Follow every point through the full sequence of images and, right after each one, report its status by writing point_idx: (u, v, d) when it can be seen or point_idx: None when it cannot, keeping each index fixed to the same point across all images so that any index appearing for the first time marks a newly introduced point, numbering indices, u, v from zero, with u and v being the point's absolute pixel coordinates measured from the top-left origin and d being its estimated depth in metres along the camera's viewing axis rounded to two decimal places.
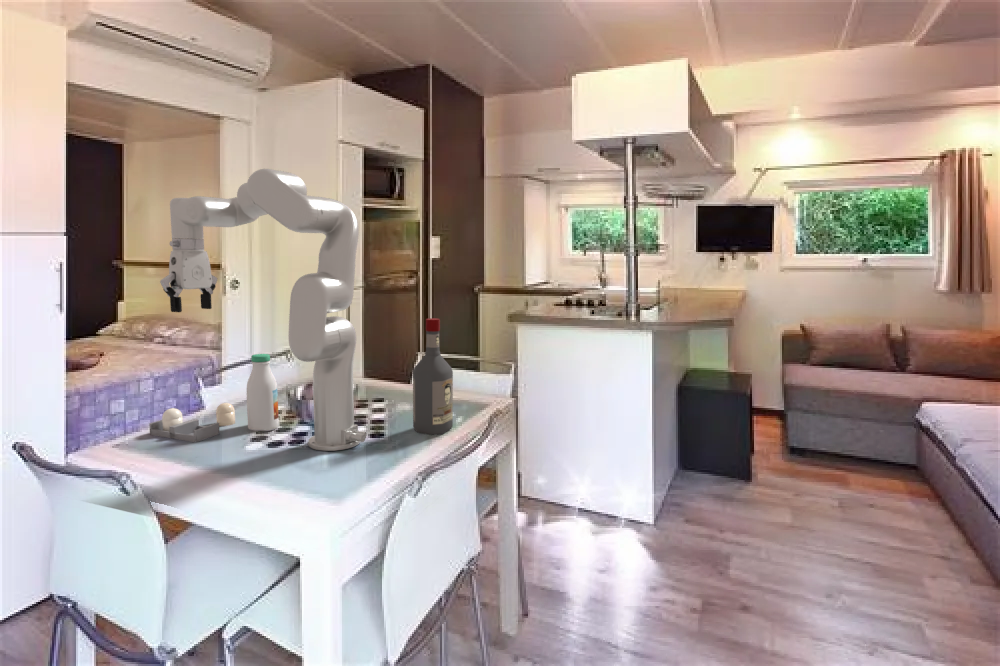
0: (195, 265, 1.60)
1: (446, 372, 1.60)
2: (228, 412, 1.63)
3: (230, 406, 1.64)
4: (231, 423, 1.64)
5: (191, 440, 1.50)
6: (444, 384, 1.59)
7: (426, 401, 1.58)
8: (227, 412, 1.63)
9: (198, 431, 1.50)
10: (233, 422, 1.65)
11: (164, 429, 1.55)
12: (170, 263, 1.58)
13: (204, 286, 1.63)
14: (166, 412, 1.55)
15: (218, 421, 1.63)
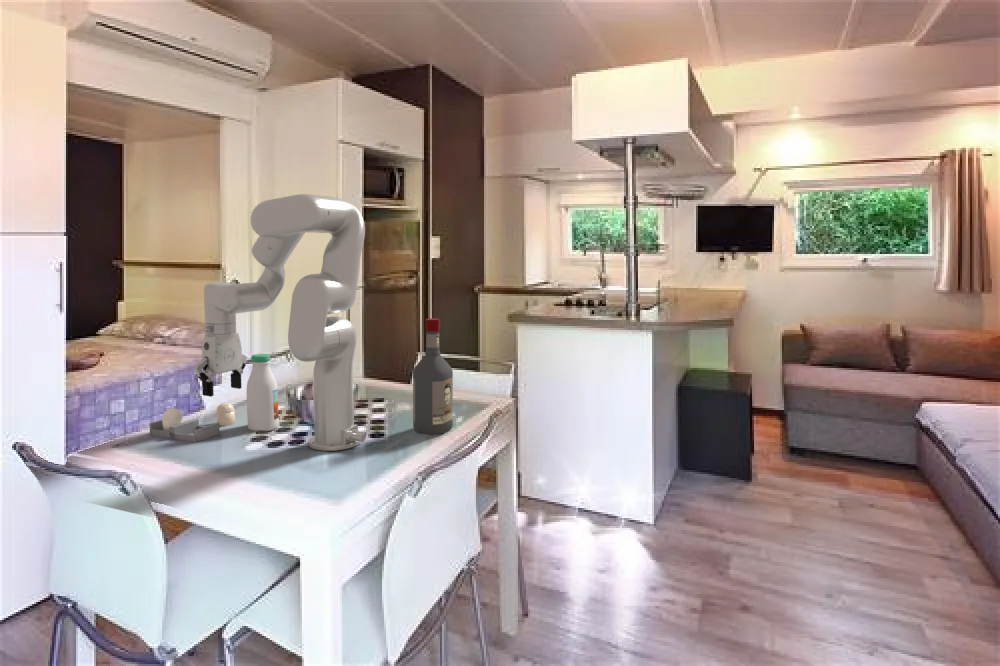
0: (227, 349, 1.61)
1: (446, 372, 1.59)
2: (228, 412, 1.63)
3: (230, 406, 1.64)
4: (231, 423, 1.64)
5: (191, 440, 1.50)
6: (444, 384, 1.59)
7: (426, 401, 1.58)
8: (227, 412, 1.63)
9: (198, 431, 1.50)
10: (233, 422, 1.65)
11: (164, 429, 1.55)
12: (203, 348, 1.59)
13: (235, 368, 1.64)
14: (166, 412, 1.55)
15: (218, 421, 1.63)
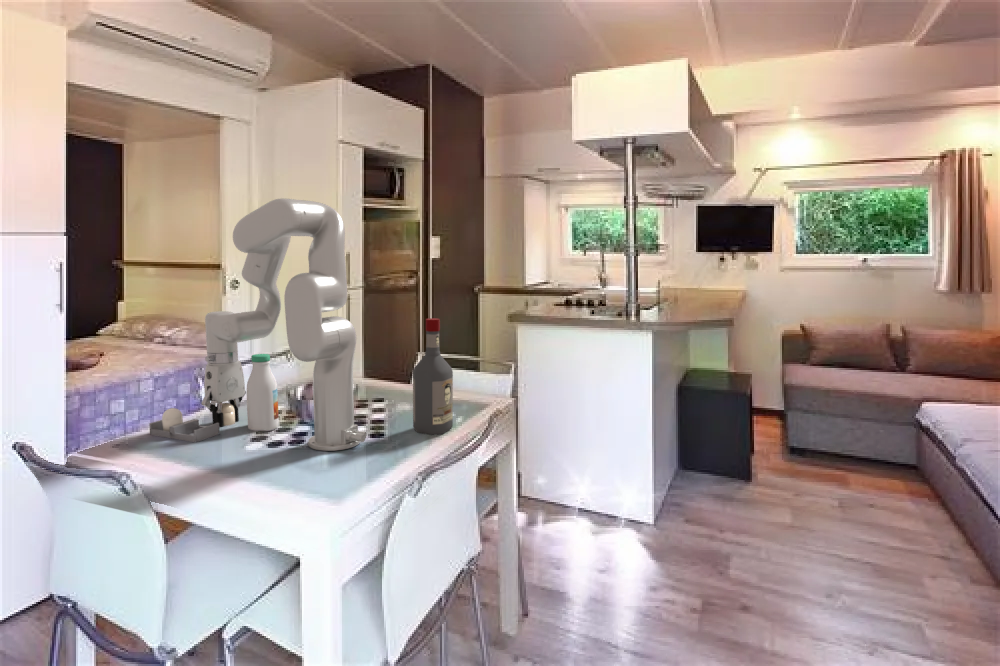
0: (230, 377, 1.62)
1: (446, 372, 1.59)
2: (228, 412, 1.63)
3: (230, 406, 1.64)
4: (231, 423, 1.64)
5: (191, 440, 1.50)
6: (444, 384, 1.59)
7: (426, 401, 1.58)
8: (227, 412, 1.63)
9: (198, 431, 1.50)
10: (233, 422, 1.65)
11: (164, 429, 1.55)
12: (205, 377, 1.59)
13: (238, 396, 1.65)
14: (166, 412, 1.55)
15: None
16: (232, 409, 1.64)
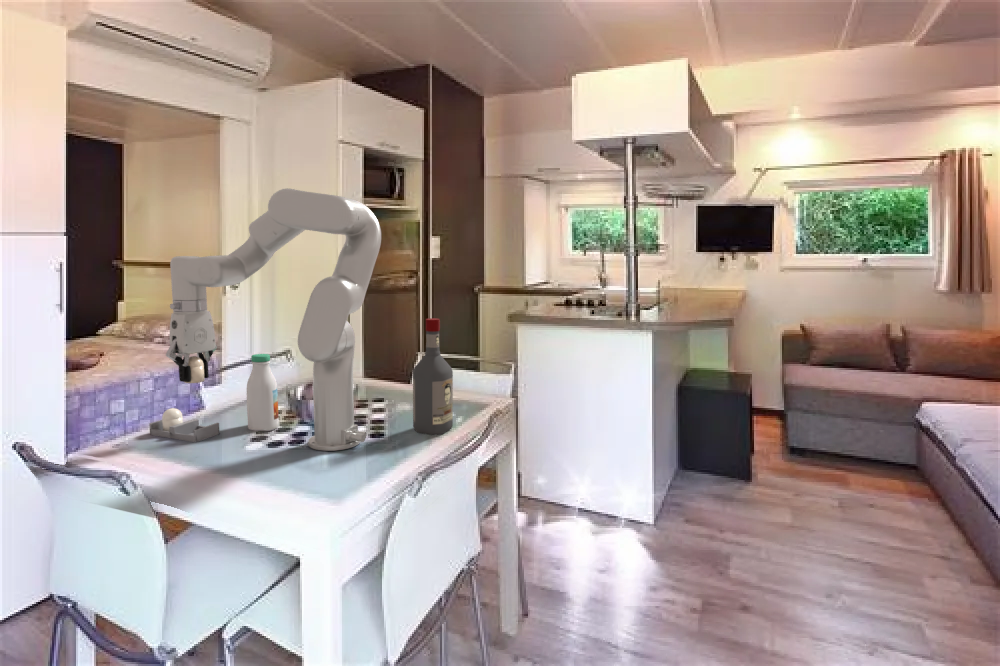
0: (197, 328, 1.49)
1: (446, 372, 1.59)
2: (196, 366, 1.50)
3: (198, 360, 1.51)
4: (199, 378, 1.51)
5: (191, 440, 1.50)
6: (444, 384, 1.59)
7: (426, 401, 1.58)
8: (195, 366, 1.50)
9: (198, 431, 1.50)
10: (202, 377, 1.52)
11: (164, 429, 1.55)
12: (171, 327, 1.46)
13: (207, 349, 1.52)
14: (166, 412, 1.55)
15: None
16: (200, 363, 1.51)
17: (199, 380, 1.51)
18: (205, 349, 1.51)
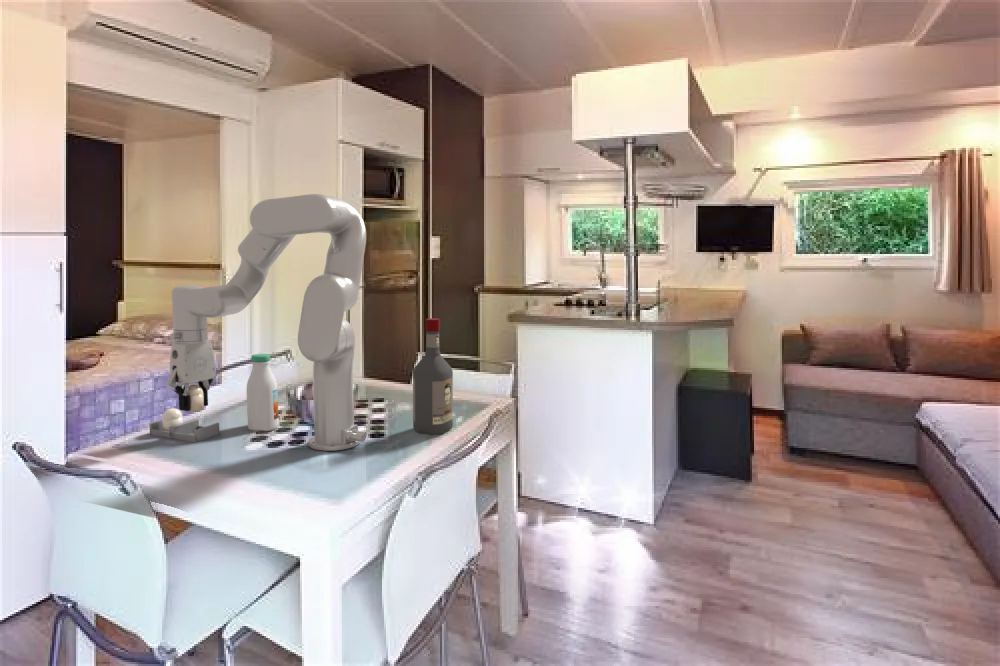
0: (198, 357, 1.50)
1: (446, 372, 1.60)
2: (196, 395, 1.51)
3: (198, 388, 1.52)
4: (199, 407, 1.52)
5: (191, 440, 1.50)
6: (444, 384, 1.59)
7: (426, 401, 1.58)
8: (195, 395, 1.51)
9: (198, 431, 1.50)
10: (201, 406, 1.52)
11: (164, 429, 1.55)
12: (171, 356, 1.47)
13: (207, 378, 1.53)
14: (166, 412, 1.55)
15: None
16: (200, 392, 1.52)
17: (199, 409, 1.52)
18: (205, 378, 1.52)
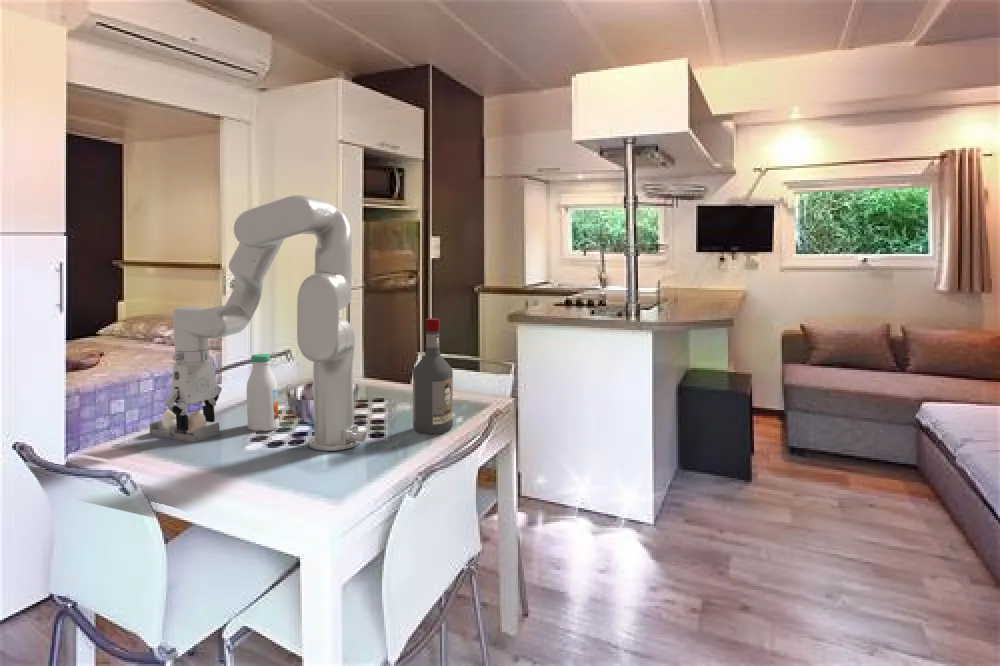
0: (200, 378, 1.50)
1: (446, 372, 1.60)
2: (198, 422, 1.52)
3: (201, 415, 1.53)
4: None
5: (191, 440, 1.50)
6: (444, 384, 1.59)
7: (426, 401, 1.58)
8: (197, 422, 1.52)
9: (198, 431, 1.50)
10: None
11: (164, 429, 1.55)
12: (173, 377, 1.48)
13: (209, 398, 1.53)
14: (166, 412, 1.55)
15: (187, 431, 1.52)
16: (203, 418, 1.53)
17: None
18: (207, 398, 1.53)
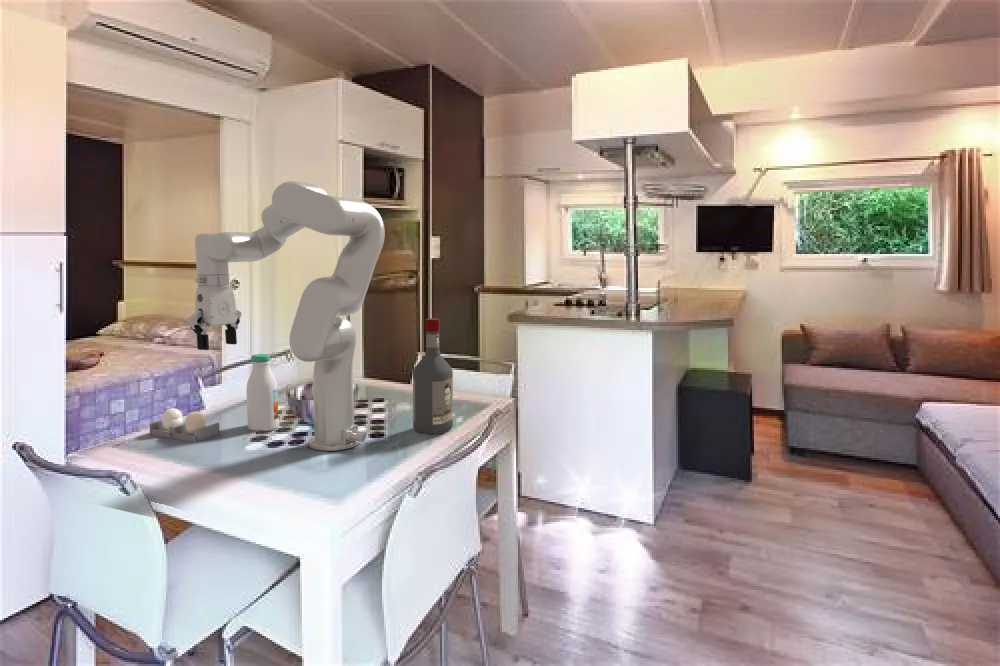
0: (221, 301, 1.57)
1: (446, 372, 1.59)
2: (198, 421, 1.52)
3: (200, 415, 1.53)
4: None
5: (191, 440, 1.50)
6: (444, 384, 1.59)
7: (426, 401, 1.58)
8: (197, 422, 1.51)
9: (198, 431, 1.50)
10: None
11: (164, 429, 1.55)
12: (196, 300, 1.55)
13: (230, 322, 1.61)
14: (166, 412, 1.55)
15: (187, 431, 1.52)
16: (202, 418, 1.53)
17: None
18: (228, 322, 1.60)
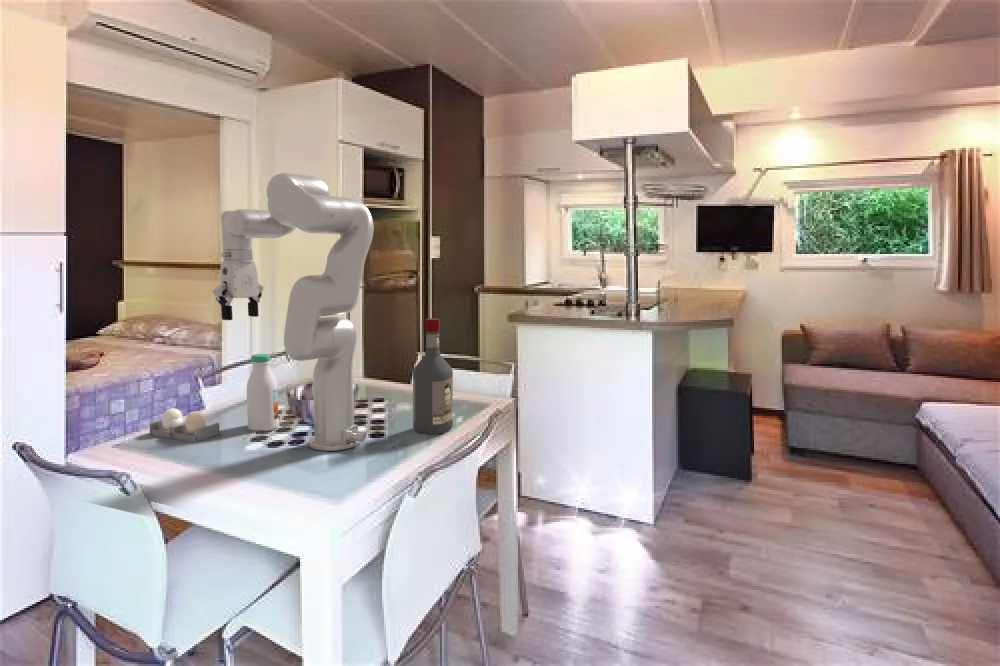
0: (245, 275, 1.67)
1: (446, 372, 1.59)
2: (199, 421, 1.52)
3: (201, 414, 1.53)
4: None
5: (191, 440, 1.50)
6: (444, 384, 1.59)
7: (426, 401, 1.58)
8: (198, 421, 1.52)
9: (198, 431, 1.50)
10: None
11: (164, 429, 1.55)
12: (221, 273, 1.65)
13: (252, 295, 1.70)
14: (166, 412, 1.55)
15: (188, 431, 1.52)
16: (203, 418, 1.53)
17: None
18: (251, 295, 1.70)
